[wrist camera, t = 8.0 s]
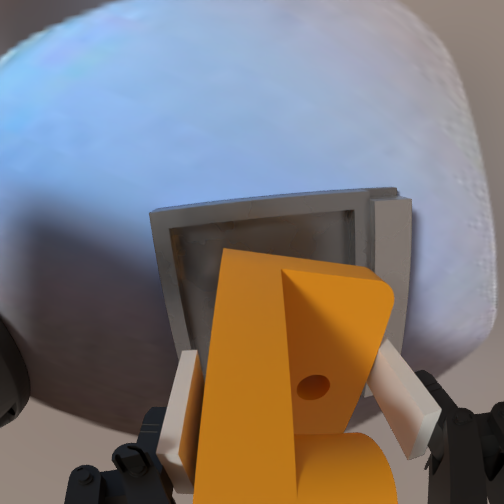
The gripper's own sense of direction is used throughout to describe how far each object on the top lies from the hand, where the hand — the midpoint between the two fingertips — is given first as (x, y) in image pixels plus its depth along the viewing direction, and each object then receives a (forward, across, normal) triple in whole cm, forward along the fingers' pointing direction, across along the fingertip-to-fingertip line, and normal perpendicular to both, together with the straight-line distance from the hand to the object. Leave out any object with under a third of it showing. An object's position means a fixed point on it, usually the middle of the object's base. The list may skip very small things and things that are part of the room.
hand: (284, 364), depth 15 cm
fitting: (+6, +1, 0) cm, 6 cm away
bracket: (+1, 0, 0) cm, 1 cm away
